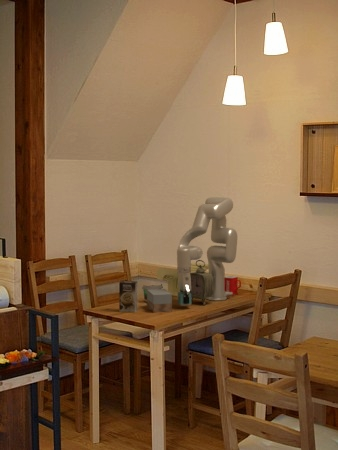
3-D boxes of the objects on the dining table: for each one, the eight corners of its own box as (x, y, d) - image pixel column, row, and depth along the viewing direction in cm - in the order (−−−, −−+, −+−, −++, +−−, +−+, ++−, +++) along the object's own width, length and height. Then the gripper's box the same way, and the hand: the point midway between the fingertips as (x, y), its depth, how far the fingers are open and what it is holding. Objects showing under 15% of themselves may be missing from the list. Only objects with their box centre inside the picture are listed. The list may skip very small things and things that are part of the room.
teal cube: (188, 302, 370) (188, 291, 369) (191, 304, 364) (191, 293, 363) (177, 302, 368) (177, 292, 367) (180, 305, 362) (180, 294, 362)
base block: (164, 306, 372) (164, 297, 372) (171, 312, 357) (171, 303, 356) (146, 307, 369) (146, 298, 369) (153, 313, 354) (153, 304, 353)
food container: (145, 304, 377) (145, 286, 376) (142, 302, 382) (142, 285, 381) (166, 302, 381) (165, 285, 380) (162, 300, 387) (162, 283, 386)
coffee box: (118, 312, 356) (118, 282, 355) (121, 309, 362) (121, 280, 361) (135, 312, 355) (135, 282, 353) (137, 310, 361) (137, 280, 360)
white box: (164, 297, 372) (164, 288, 371) (171, 303, 356) (171, 294, 356) (147, 298, 369) (147, 289, 369) (153, 304, 354) (153, 295, 353)
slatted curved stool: (190, 289, 421) (190, 262, 420) (209, 292, 410) (209, 264, 409) (157, 296, 400) (157, 267, 398) (176, 299, 389) (176, 269, 387)
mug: (220, 294, 406) (220, 277, 405) (227, 292, 413) (227, 275, 412) (237, 296, 399) (237, 279, 398) (244, 294, 406) (244, 277, 405)
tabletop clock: (186, 302, 380) (186, 259, 378) (196, 300, 387) (196, 258, 385) (204, 306, 370) (205, 262, 368) (215, 304, 377) (215, 260, 375)
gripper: (195, 272, 357) (195, 305, 359) (186, 267, 373) (186, 298, 375) (181, 273, 355) (182, 306, 357) (173, 268, 371) (173, 299, 373)
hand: (184, 302), depth 366 cm, fingers closed on teal cube, 6 cm apart
